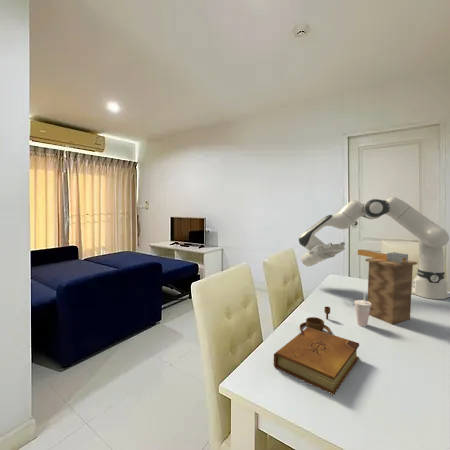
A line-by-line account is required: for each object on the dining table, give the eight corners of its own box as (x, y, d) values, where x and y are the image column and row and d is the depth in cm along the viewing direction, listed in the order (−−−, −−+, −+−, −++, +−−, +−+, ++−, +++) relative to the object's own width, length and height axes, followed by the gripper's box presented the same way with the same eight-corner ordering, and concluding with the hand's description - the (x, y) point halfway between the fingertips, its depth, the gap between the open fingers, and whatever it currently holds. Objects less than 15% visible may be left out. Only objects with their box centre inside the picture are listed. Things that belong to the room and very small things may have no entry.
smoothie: (372, 328, 109) (374, 295, 108) (356, 327, 110) (357, 294, 109) (367, 322, 115) (369, 290, 114) (352, 320, 116) (353, 289, 115)
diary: (305, 340, 101) (306, 326, 100) (358, 359, 88) (359, 343, 88) (273, 368, 84) (273, 350, 83) (333, 396, 71) (334, 376, 71)
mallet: (355, 254, 132) (356, 247, 132) (362, 254, 134) (363, 247, 134) (400, 263, 112) (400, 255, 112) (407, 262, 114) (408, 254, 114)
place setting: (289, 325, 113) (289, 312, 113) (326, 318, 121) (326, 305, 120) (317, 345, 97) (317, 329, 97) (358, 335, 104) (358, 321, 104)
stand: (363, 313, 124) (365, 258, 122) (383, 308, 129) (385, 256, 127) (393, 326, 111) (395, 265, 109) (413, 320, 117) (416, 262, 115)
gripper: (305, 248, 153) (321, 239, 141) (332, 246, 161) (348, 237, 150) (309, 259, 150) (325, 250, 139) (335, 256, 159) (353, 248, 147)
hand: (337, 243), depth 144 cm, fingers open, 8 cm apart
